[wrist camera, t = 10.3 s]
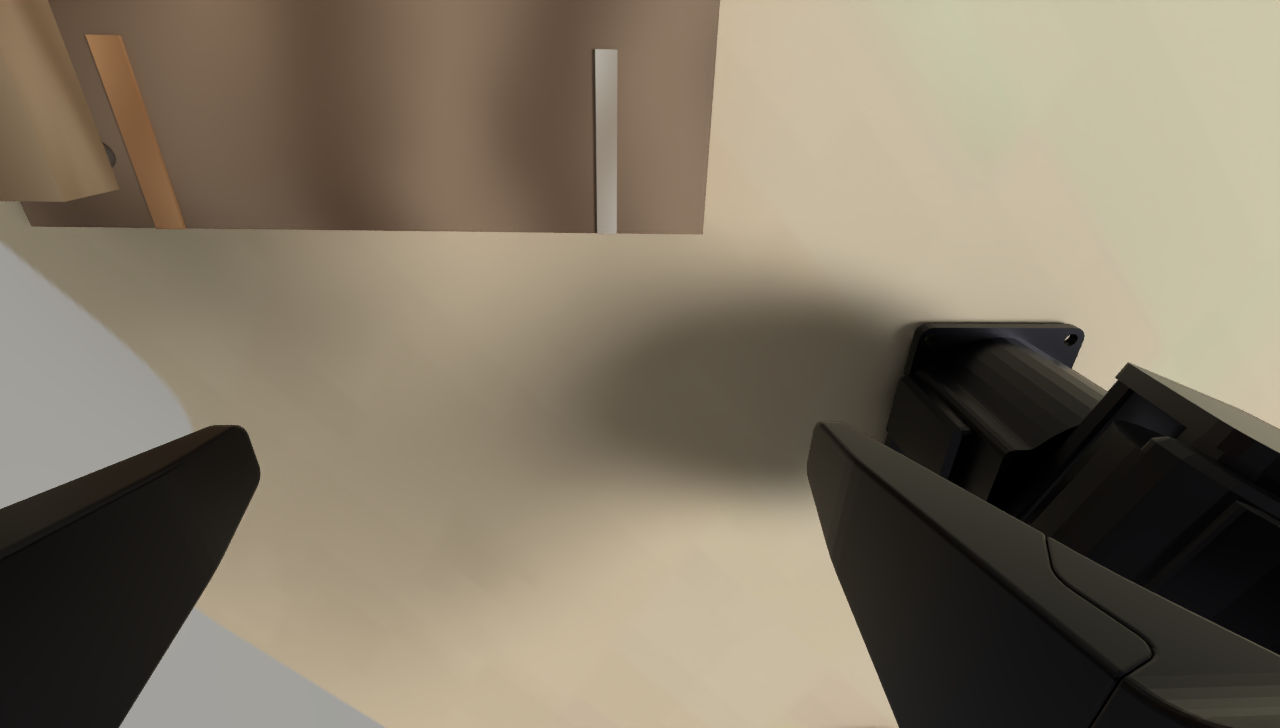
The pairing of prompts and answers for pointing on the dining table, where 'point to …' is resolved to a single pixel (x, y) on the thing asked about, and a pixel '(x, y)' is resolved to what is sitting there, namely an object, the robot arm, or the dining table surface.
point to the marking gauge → (45, 114)
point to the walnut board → (396, 114)
